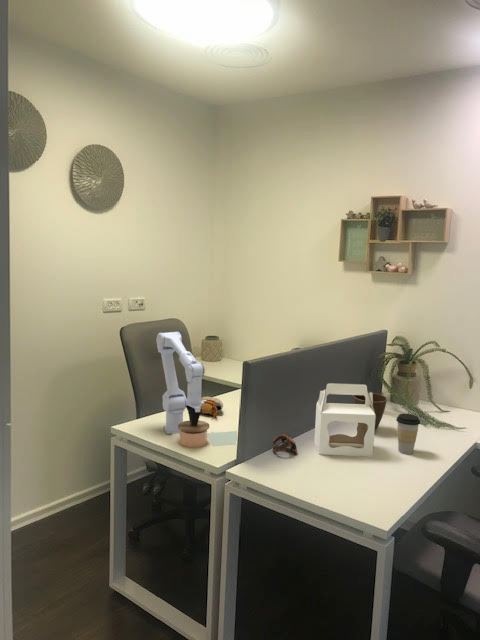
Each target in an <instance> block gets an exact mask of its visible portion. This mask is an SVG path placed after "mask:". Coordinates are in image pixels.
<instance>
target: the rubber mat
mask: <svg viewBox="0 0 480 640" xmlns="http://www.w3.org/2000/svg"><path fill="white" fill-rule="evenodd" d="M237 431H238V430H233V431H230V430H229V431H221V432H220V431H219V432H207V440H209V442H210V444H211V445H212V447H224V446H235V445H237V444H236V441H237Z"/></svg>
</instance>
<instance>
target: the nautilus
mask: <svg viewBox="0 0 480 640" xmlns="http://www.w3.org/2000/svg"><path fill="white" fill-rule="evenodd" d="M201 401H203V402H204V404H201V407H200V409H202V413H201V414H206V415H207V414H209V415H211V416H212V418H211V419H210V420H213V419H215V420H218V415H220V414H221V412H222V410H223V408H224V403H223V402H222V401H221V400H220V399H219V398H218V397H214V396H212V397H211V396H203V397H202V396H201Z"/></svg>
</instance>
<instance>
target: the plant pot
mask: <svg viewBox="0 0 480 640" xmlns="http://www.w3.org/2000/svg"><path fill="white" fill-rule="evenodd" d="M387 401H388V398H387V397H386V396H385V395H383V394H380V393H377V392H376V393H374V392H373V408H374V411H375V414H376V418H375V432H374V433H376V432H377V430H378V427H379V425H380V423H381V421H382V418H383V415H384V413H385V409H386V406H387ZM353 404H365V396H364V395H363V396H361V395H353Z"/></svg>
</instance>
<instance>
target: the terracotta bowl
mask: <svg viewBox="0 0 480 640" xmlns="http://www.w3.org/2000/svg"><path fill="white" fill-rule="evenodd" d="M207 433H208V429H207V430H205V431H202V432H184V431H181V430H180V433H179V444H180V445H182V446H184V447H188V448H198V447H203V446H205V445H207V441H208V438H207Z"/></svg>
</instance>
